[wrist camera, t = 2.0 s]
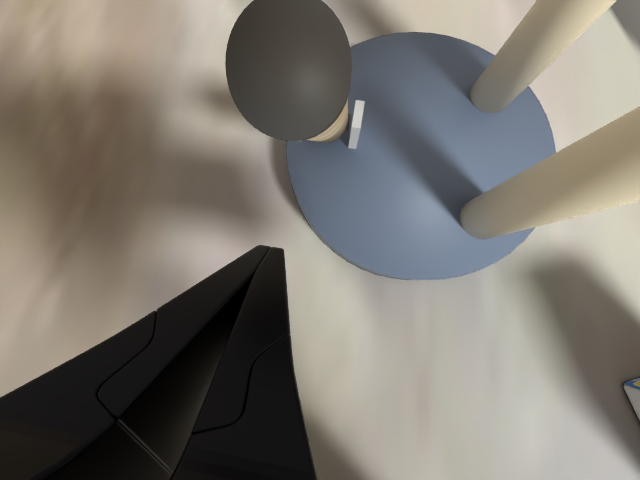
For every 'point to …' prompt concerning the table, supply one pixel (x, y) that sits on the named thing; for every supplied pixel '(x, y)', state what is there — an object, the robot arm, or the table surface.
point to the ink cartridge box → (634, 394)
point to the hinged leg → (291, 69)
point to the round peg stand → (458, 152)
